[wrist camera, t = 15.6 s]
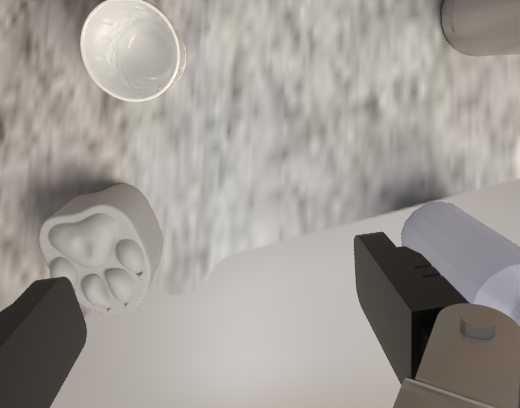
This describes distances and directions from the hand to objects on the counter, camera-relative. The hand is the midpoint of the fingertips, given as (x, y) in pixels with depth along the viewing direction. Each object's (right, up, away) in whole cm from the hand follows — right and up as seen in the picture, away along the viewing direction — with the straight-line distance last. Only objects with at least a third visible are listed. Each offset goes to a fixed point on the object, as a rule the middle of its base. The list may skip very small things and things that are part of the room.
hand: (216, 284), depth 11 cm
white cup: (-10, +18, +30) cm, 36 cm away
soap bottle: (+23, -1, +38) cm, 45 cm away
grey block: (-16, -2, +36) cm, 40 cm away
